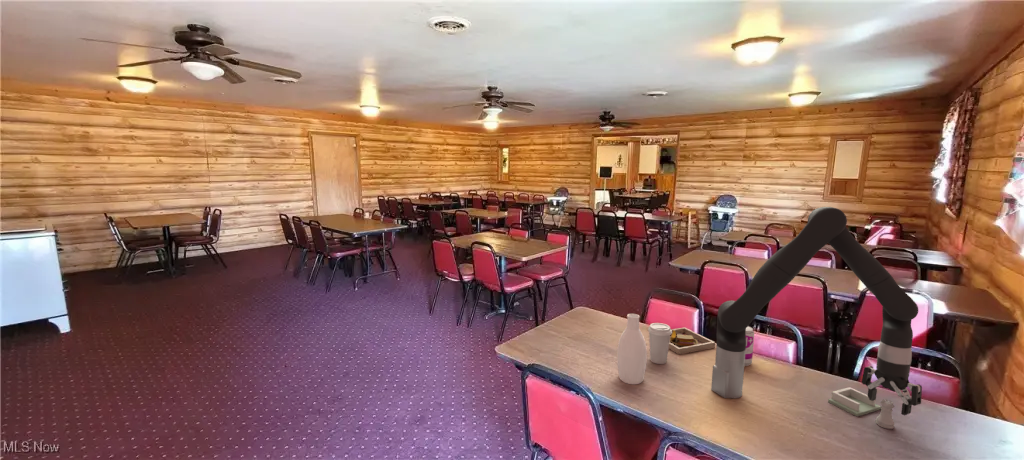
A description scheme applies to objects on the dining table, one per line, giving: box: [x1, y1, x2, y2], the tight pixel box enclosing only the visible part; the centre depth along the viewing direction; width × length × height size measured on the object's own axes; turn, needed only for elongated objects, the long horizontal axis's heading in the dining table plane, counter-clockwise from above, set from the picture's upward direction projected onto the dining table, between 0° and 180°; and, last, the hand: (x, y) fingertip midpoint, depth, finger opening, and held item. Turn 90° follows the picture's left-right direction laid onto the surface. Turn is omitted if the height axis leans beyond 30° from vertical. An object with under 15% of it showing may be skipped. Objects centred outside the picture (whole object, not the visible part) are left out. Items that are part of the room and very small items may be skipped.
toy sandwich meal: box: [670, 330, 699, 348], centre depth 192 cm, size 12×14×5 cm
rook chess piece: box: [875, 399, 895, 430], centre depth 130 cm, size 4×4×8 cm
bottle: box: [616, 313, 648, 385], centre depth 158 cm, size 11×11×25 cm
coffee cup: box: [647, 322, 672, 365], centre depth 174 cm, size 10×10×15 cm
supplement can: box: [744, 325, 755, 367], centre depth 172 cm, size 8×8×15 cm
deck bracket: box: [827, 386, 882, 417], centre depth 141 cm, size 12×9×4 cm
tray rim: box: [668, 326, 716, 355], centre depth 192 cm, size 20×19×2 cm
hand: (888, 407), depth 129 cm, fingers open, 8 cm apart
